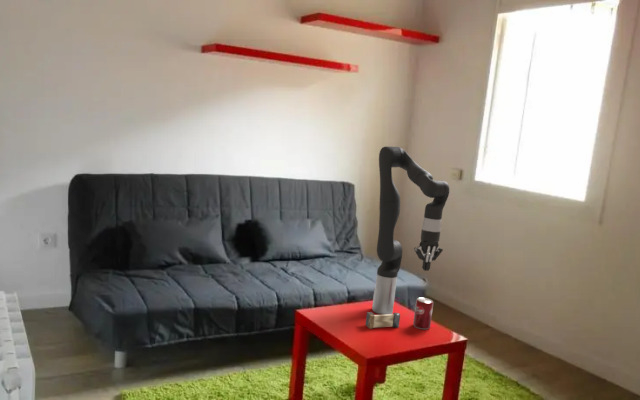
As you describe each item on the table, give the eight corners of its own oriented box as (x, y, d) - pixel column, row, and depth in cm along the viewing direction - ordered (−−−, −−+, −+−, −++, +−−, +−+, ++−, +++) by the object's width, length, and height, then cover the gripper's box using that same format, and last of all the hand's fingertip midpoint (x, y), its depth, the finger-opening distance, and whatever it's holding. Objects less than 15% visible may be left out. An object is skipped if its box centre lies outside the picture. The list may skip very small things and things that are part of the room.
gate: (390, 325, 241) (392, 313, 240) (392, 327, 239) (394, 314, 238) (367, 327, 236) (369, 314, 235) (369, 328, 234) (371, 316, 234)
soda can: (416, 329, 239) (420, 302, 238) (410, 323, 246) (414, 297, 245) (432, 330, 241) (436, 303, 239) (426, 323, 248) (429, 297, 246)
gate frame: (364, 324, 239) (366, 311, 239) (397, 325, 242) (398, 312, 242) (366, 327, 236) (368, 314, 236) (399, 327, 240) (401, 315, 239)
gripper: (439, 227, 236) (433, 267, 238) (412, 226, 230) (407, 268, 233) (450, 231, 229) (444, 272, 231) (422, 230, 224) (417, 273, 226)
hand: (425, 270), depth 232 cm, fingers closed
